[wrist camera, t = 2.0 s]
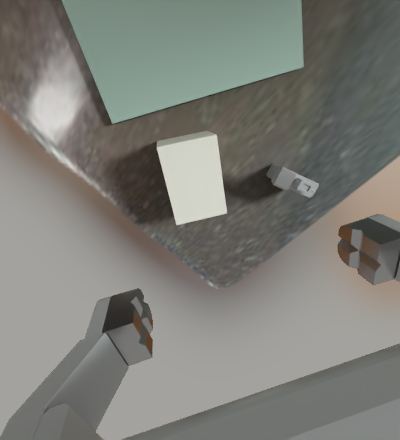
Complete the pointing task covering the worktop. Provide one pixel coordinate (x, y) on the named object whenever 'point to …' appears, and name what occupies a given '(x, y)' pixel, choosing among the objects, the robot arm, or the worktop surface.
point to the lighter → (291, 180)
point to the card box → (193, 176)
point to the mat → (182, 48)
